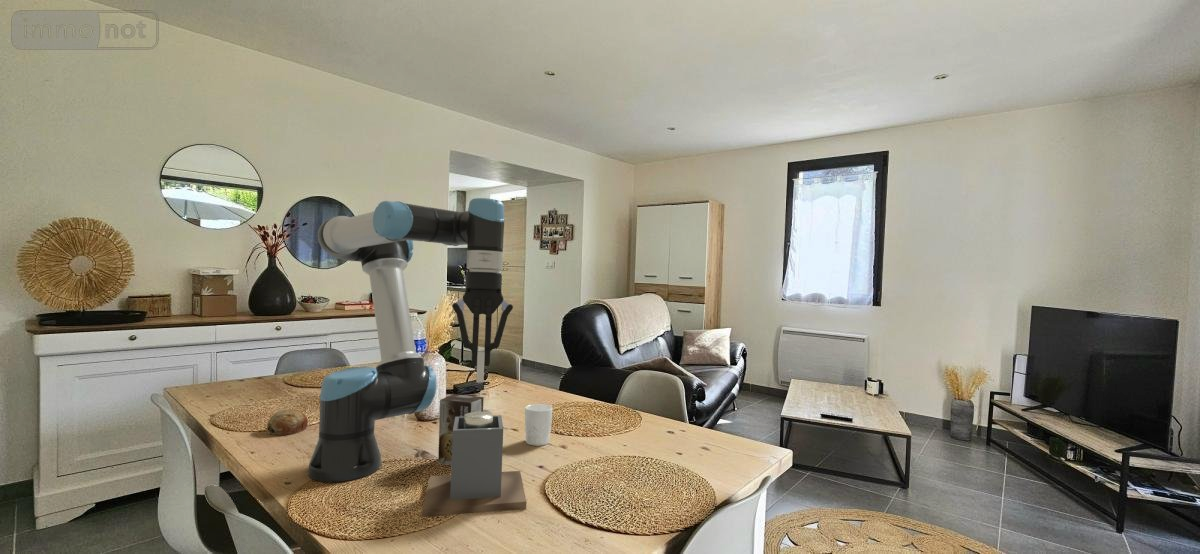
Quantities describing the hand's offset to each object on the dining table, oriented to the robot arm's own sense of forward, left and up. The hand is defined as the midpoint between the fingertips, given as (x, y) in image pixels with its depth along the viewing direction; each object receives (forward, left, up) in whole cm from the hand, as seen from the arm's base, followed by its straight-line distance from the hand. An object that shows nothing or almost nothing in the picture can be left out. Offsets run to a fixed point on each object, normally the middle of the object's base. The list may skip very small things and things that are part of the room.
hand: (479, 381), depth 102 cm
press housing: (0, 0, -23) cm, 23 cm away
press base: (0, 0, -24) cm, 24 cm away
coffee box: (-4, +20, -25) cm, 32 cm away
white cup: (+17, +32, -25) cm, 44 cm away
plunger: (0, 0, -23) cm, 23 cm away
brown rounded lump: (-54, +53, -25) cm, 79 cm away
